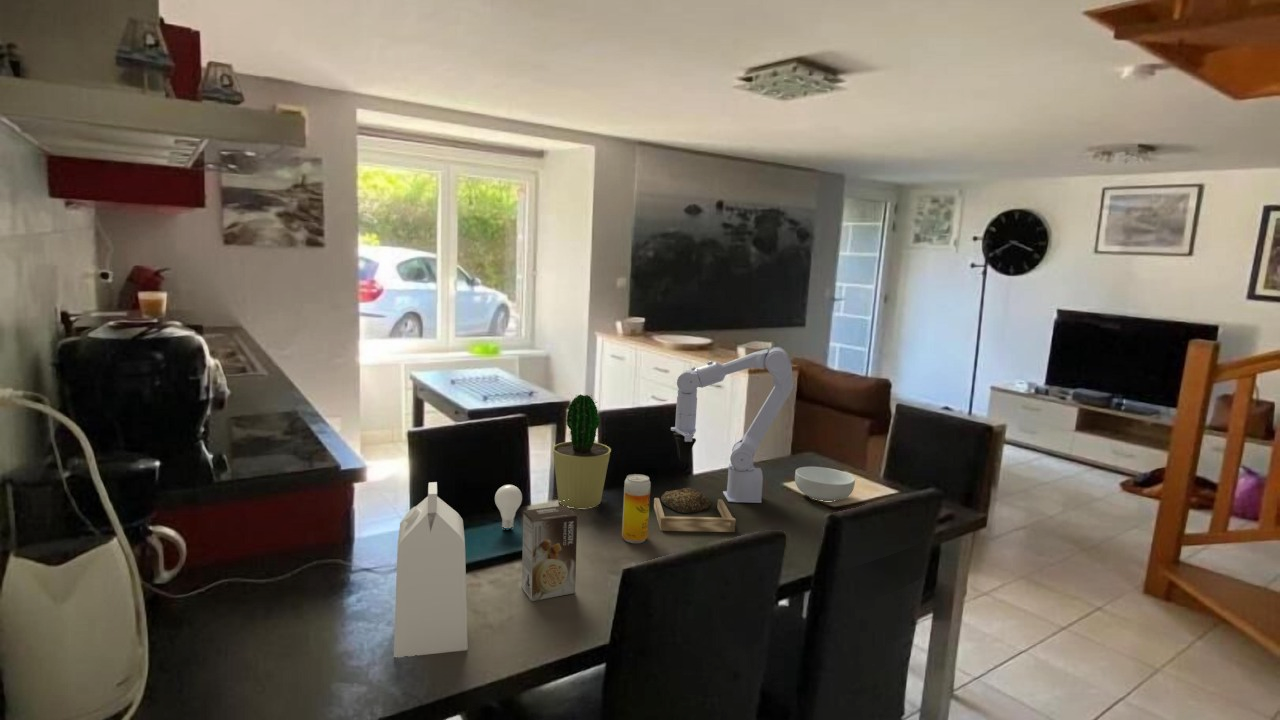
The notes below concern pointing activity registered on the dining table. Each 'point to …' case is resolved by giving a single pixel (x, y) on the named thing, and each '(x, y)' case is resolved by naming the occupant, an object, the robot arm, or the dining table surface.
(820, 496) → the cereal bowl
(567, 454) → the potted cactus
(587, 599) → the dining table surface
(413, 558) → the milk
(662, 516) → the tray
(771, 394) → the robot arm
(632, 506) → the beer can
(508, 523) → the lightbulb
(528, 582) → the coffee box
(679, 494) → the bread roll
